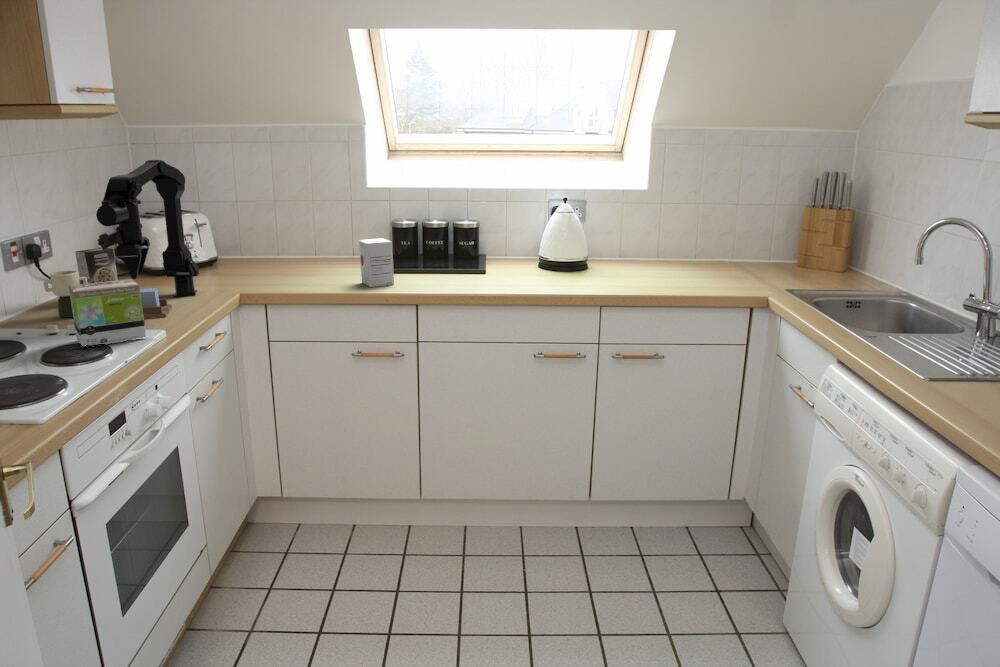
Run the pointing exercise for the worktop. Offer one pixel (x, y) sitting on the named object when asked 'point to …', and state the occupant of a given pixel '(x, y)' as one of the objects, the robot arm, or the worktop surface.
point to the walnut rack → (157, 310)
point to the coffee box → (96, 265)
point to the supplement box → (376, 262)
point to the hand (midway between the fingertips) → (137, 275)
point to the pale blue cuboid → (149, 297)
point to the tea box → (107, 312)
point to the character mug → (63, 289)
